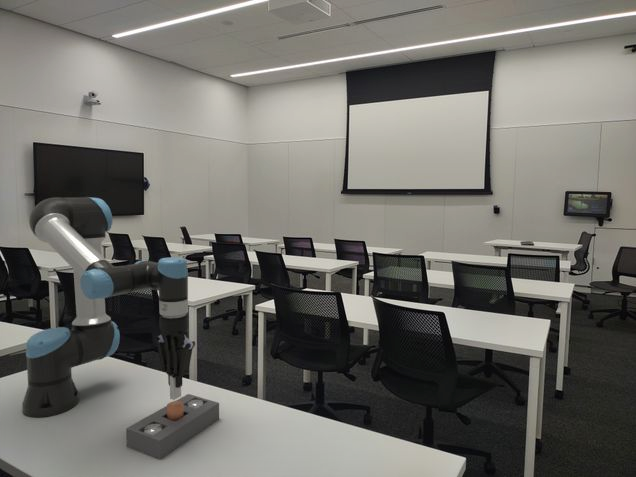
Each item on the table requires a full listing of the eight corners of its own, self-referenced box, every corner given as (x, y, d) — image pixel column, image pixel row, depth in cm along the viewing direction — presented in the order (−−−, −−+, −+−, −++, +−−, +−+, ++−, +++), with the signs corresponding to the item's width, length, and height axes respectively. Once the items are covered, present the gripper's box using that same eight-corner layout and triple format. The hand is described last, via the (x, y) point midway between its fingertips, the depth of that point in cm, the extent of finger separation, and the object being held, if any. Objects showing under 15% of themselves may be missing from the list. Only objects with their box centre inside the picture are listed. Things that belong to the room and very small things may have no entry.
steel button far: (184, 418, 131) (184, 404, 131) (195, 412, 135) (194, 398, 135) (196, 422, 129) (195, 407, 129) (206, 416, 133) (206, 401, 133)
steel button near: (140, 446, 117) (140, 429, 116) (153, 437, 121) (153, 422, 120) (152, 450, 115) (152, 434, 114) (165, 442, 119) (165, 426, 118)
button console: (126, 446, 118) (126, 428, 117) (188, 409, 138) (188, 393, 137) (159, 459, 112) (159, 440, 112) (219, 418, 133) (219, 402, 132)
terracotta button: (163, 421, 124) (163, 406, 123) (175, 414, 128) (175, 399, 127) (175, 425, 122) (175, 409, 121) (187, 418, 126) (186, 403, 125)
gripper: (145, 314, 121) (148, 397, 123) (182, 321, 115) (183, 408, 118) (166, 308, 128) (168, 387, 130) (201, 314, 122) (203, 397, 124)
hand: (175, 397), depth 124 cm, fingers closed
